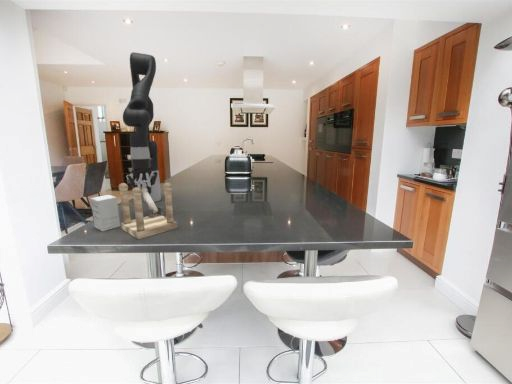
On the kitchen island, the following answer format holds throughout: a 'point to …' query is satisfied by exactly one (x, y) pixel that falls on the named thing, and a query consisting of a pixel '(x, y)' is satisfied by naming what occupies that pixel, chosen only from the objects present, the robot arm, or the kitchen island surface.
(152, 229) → the wooden post rack
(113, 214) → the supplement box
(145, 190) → the folding leg
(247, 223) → the kitchen island surface
